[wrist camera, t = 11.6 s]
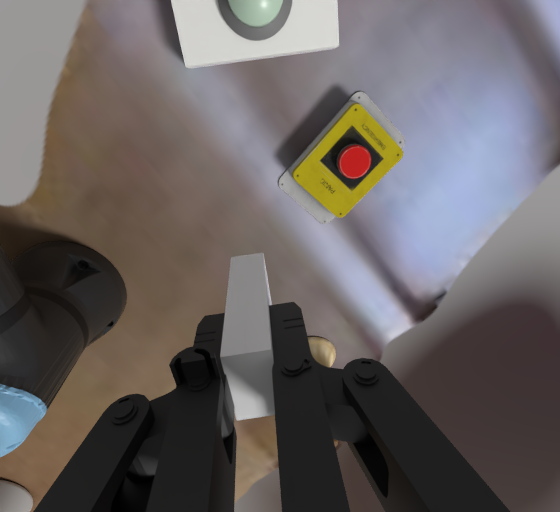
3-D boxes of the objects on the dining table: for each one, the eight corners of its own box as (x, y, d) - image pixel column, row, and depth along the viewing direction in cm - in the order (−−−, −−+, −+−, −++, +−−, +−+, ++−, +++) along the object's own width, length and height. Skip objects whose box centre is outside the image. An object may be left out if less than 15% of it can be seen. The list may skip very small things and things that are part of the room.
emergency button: (422, 146, 39) (331, 237, 44) (406, 141, 43) (324, 225, 48) (370, 86, 36) (277, 191, 40) (358, 87, 40) (274, 182, 44)
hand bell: (345, 348, 57) (377, 435, 43) (315, 380, 60) (336, 471, 46) (306, 328, 55) (326, 412, 40) (277, 362, 57) (286, 452, 43)
